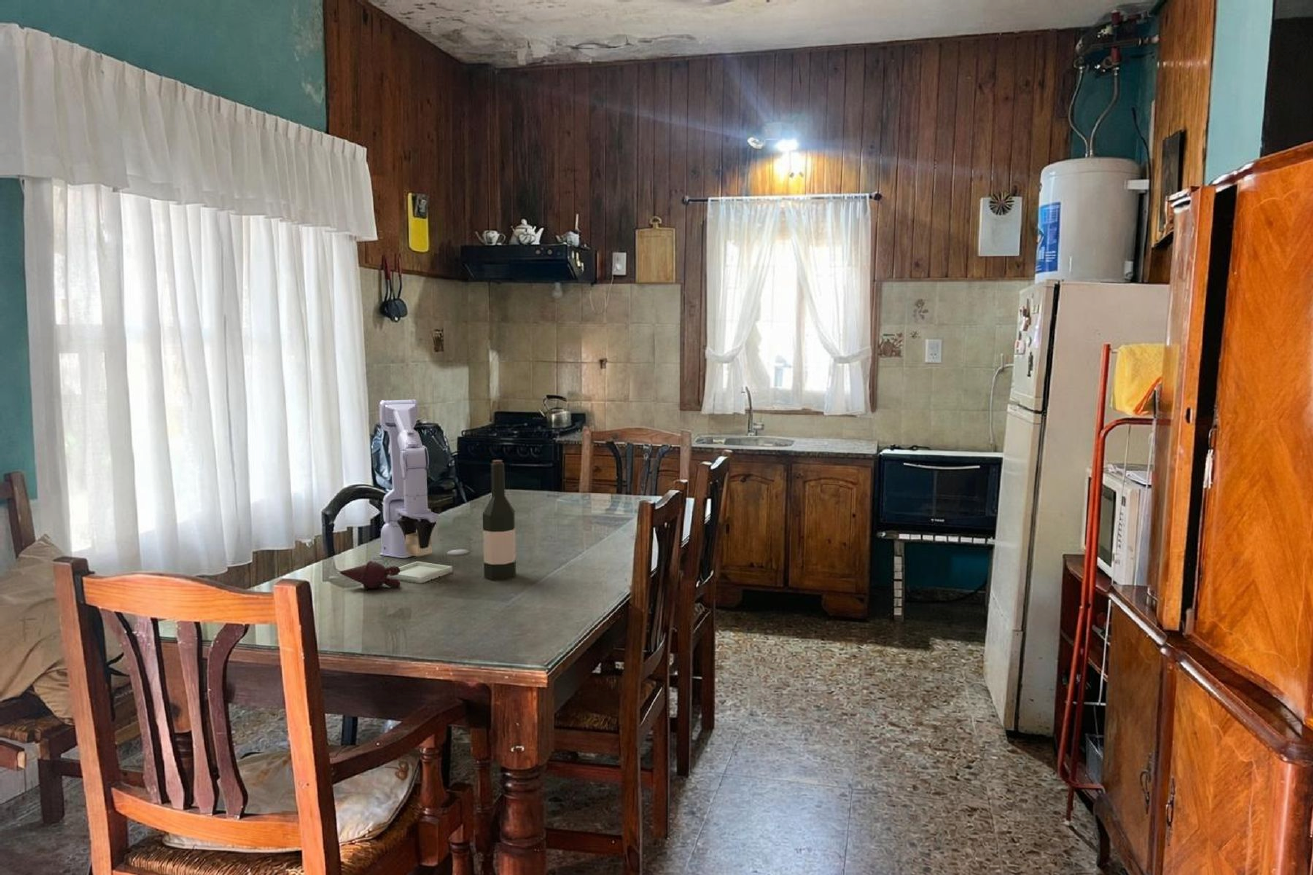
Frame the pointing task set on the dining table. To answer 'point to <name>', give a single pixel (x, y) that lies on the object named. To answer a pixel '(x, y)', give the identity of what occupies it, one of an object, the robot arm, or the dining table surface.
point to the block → (416, 545)
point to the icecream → (373, 575)
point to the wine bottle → (499, 530)
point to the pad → (458, 552)
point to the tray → (421, 572)
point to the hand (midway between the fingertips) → (417, 546)
